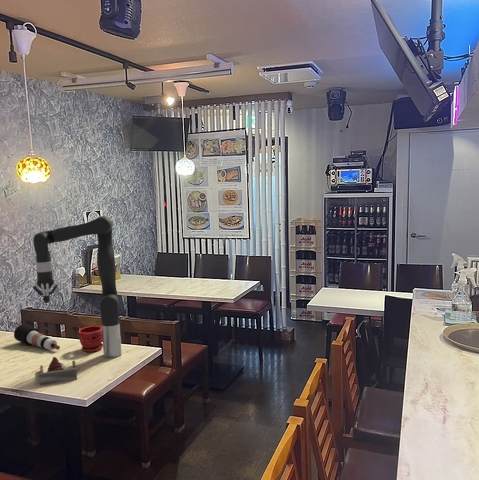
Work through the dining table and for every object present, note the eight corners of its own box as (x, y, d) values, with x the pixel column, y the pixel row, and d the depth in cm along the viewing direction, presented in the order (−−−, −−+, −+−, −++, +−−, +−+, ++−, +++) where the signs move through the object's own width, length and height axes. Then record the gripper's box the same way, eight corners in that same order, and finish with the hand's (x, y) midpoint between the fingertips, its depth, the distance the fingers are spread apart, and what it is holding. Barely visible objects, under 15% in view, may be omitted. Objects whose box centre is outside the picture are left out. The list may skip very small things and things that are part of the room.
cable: (55, 360, 262) (47, 347, 257) (18, 344, 280) (11, 332, 275) (68, 347, 269) (61, 335, 264) (32, 333, 287) (25, 320, 281)
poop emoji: (44, 375, 230) (42, 356, 229) (61, 370, 235) (60, 352, 234) (50, 381, 222) (48, 362, 221) (68, 376, 228) (67, 358, 227)
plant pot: (95, 344, 275) (94, 324, 273) (108, 348, 266) (107, 328, 265) (74, 350, 265) (73, 329, 263) (88, 355, 256) (86, 333, 255)
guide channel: (40, 370, 236) (39, 360, 236) (75, 365, 242) (74, 355, 242) (39, 385, 218) (38, 374, 218) (77, 379, 224) (76, 369, 224)
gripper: (29, 272, 242) (31, 305, 244) (56, 270, 244) (58, 303, 246) (32, 269, 249) (35, 301, 251) (59, 268, 252) (61, 300, 253)
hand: (46, 302), depth 249 cm, fingers closed
